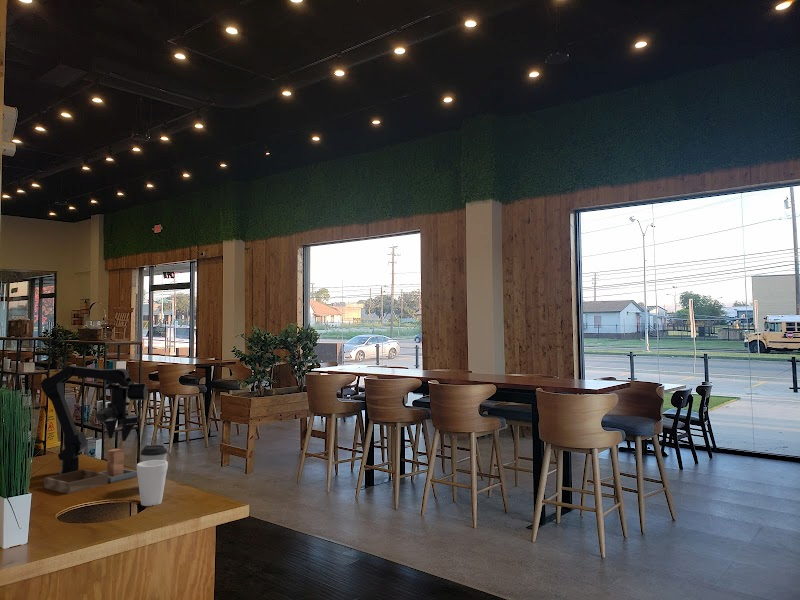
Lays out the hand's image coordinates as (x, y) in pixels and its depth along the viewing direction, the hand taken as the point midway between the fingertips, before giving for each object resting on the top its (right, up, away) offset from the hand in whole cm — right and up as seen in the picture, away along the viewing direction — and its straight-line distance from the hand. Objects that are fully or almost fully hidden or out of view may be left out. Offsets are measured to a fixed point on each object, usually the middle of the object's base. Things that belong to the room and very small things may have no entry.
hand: (117, 439), depth 233 cm
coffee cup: (+24, -12, -22) cm, 35 cm away
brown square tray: (-4, -12, -22) cm, 26 cm away
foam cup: (+31, -12, -40) cm, 52 cm away
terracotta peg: (+5, -11, -11) cm, 17 cm away
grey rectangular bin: (+5, -12, -11) cm, 17 cm away
